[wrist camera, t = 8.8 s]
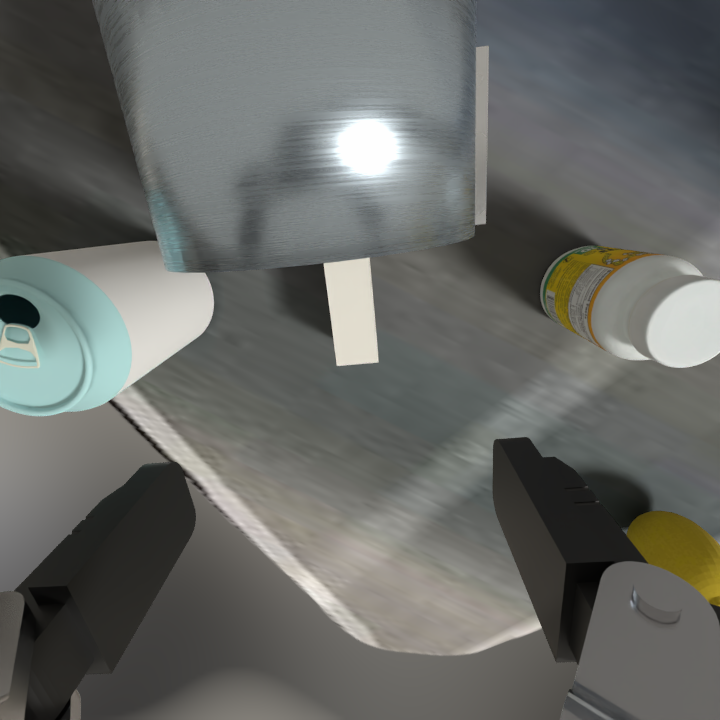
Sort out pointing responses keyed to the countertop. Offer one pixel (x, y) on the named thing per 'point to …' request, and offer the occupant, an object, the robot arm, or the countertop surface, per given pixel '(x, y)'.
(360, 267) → the plug
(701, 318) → the supplement bottle
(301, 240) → the cylinder
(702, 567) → the lemon
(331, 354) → the countertop surface
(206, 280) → the can
